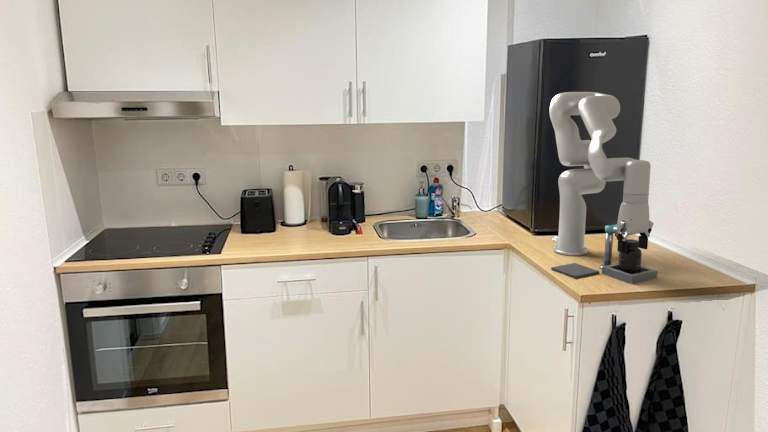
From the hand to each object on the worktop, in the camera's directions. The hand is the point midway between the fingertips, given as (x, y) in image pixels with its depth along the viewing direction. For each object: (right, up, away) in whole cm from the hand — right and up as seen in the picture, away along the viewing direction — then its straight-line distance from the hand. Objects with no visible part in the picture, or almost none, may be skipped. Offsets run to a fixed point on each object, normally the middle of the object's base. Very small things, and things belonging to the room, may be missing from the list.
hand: (632, 250), depth 185 cm
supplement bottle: (0, -9, +3) cm, 9 cm away
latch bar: (+2, +7, +11) cm, 13 cm away
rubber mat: (-16, -8, +8) cm, 20 cm away
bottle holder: (0, -9, +2) cm, 9 cm away
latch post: (-4, -7, +10) cm, 13 cm away
